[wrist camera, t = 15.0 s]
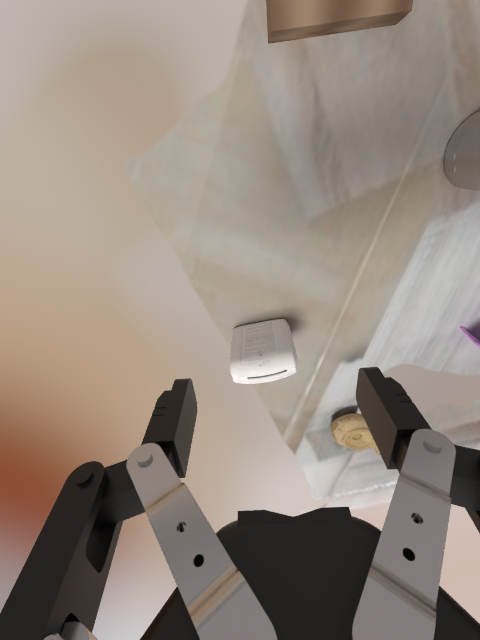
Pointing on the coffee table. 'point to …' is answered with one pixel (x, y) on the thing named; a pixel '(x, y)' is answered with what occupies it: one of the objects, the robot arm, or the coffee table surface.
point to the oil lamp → (353, 432)
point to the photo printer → (262, 352)
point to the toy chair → (471, 336)
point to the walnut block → (330, 16)
